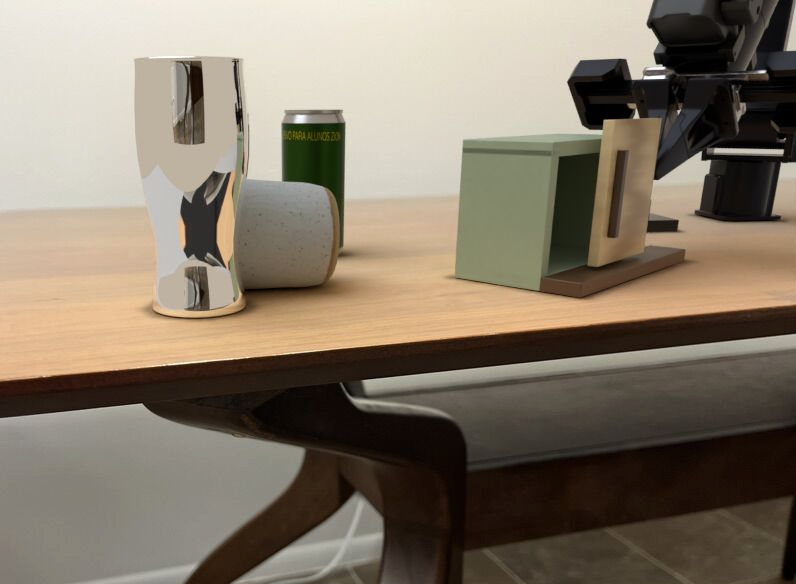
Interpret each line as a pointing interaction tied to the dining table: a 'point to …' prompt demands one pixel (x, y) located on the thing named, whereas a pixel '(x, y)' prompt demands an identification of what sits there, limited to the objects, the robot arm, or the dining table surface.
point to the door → (623, 189)
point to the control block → (661, 223)
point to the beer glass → (193, 178)
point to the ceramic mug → (287, 234)
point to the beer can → (316, 152)
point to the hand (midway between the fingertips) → (652, 176)
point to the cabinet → (538, 216)
